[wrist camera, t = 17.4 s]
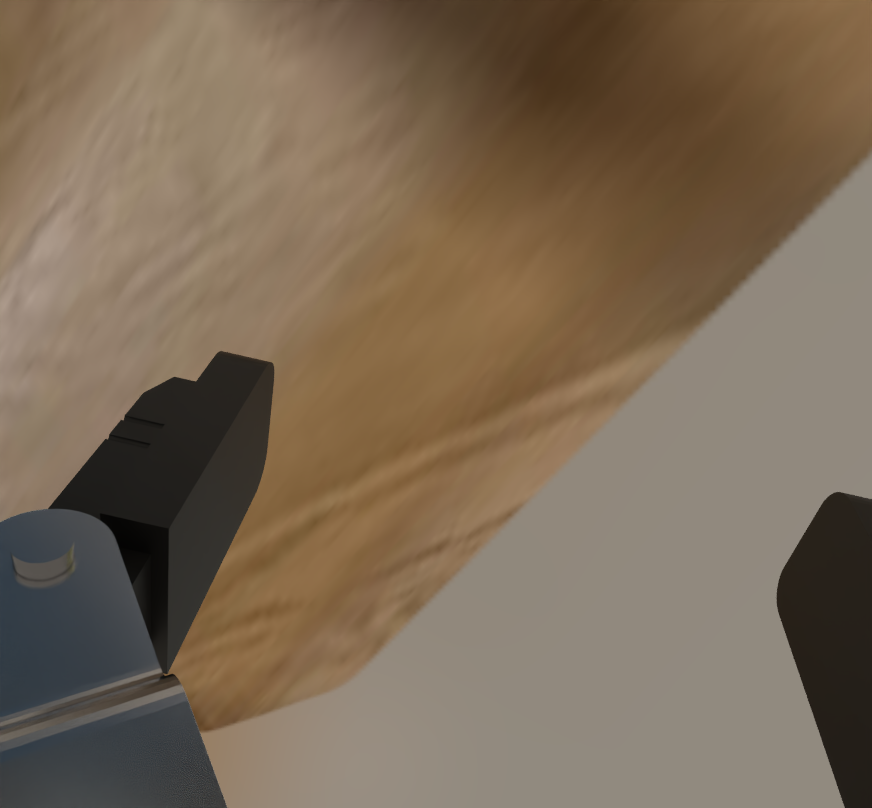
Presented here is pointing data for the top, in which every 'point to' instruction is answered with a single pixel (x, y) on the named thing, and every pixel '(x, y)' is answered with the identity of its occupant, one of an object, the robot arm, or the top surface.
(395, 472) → the top surface
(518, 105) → the top surface
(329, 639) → the top surface
